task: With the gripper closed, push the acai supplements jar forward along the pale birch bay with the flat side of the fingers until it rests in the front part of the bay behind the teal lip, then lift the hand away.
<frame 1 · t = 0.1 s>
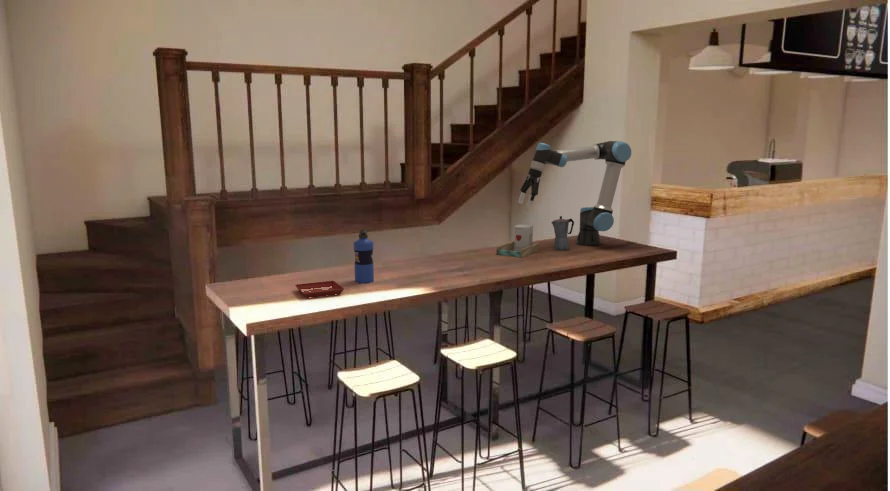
hand: (524, 204, 369), 28 cm above the table, tool tilted 20°, fingers open, 13 cm apart
bay: (518, 252, 372), on the table
water bottle: (364, 281, 305), on the table
plant saucer: (319, 294, 284), on the table
moka pot: (561, 249, 382), on the table
supplement box: (523, 250, 378), resting in bay
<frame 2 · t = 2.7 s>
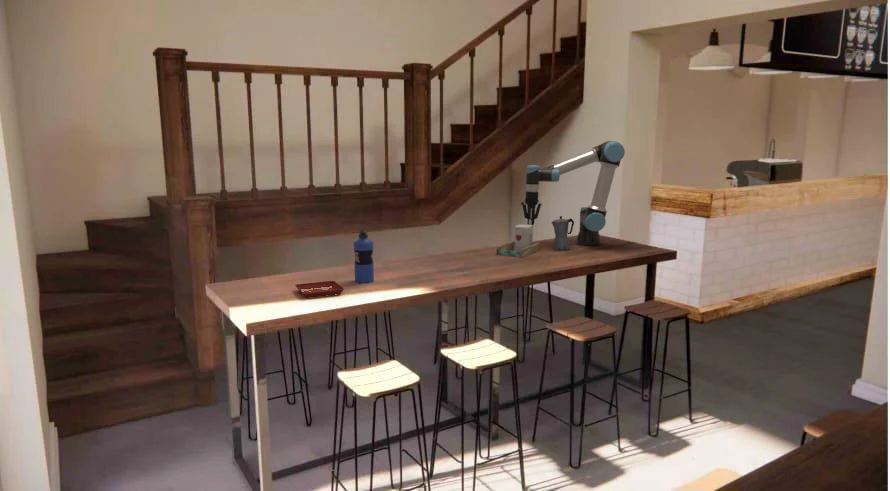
hand: (530, 230, 385), 11 cm above the table, tool pointing down, fingers closed
nothing on the table moved.
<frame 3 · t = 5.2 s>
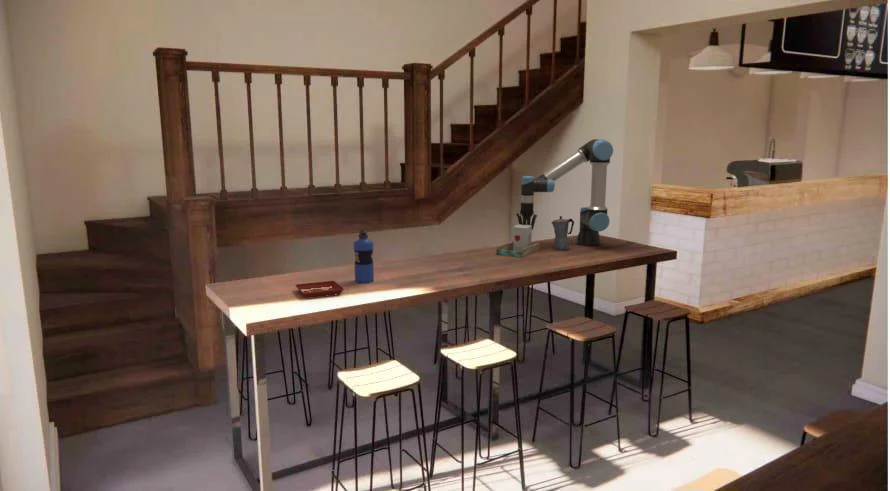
hand: (526, 241, 381), 5 cm above the table, tool pointing down, fingers closed
supplement box: (522, 251, 377), resting in bay, touching gripper
everything else where it was.
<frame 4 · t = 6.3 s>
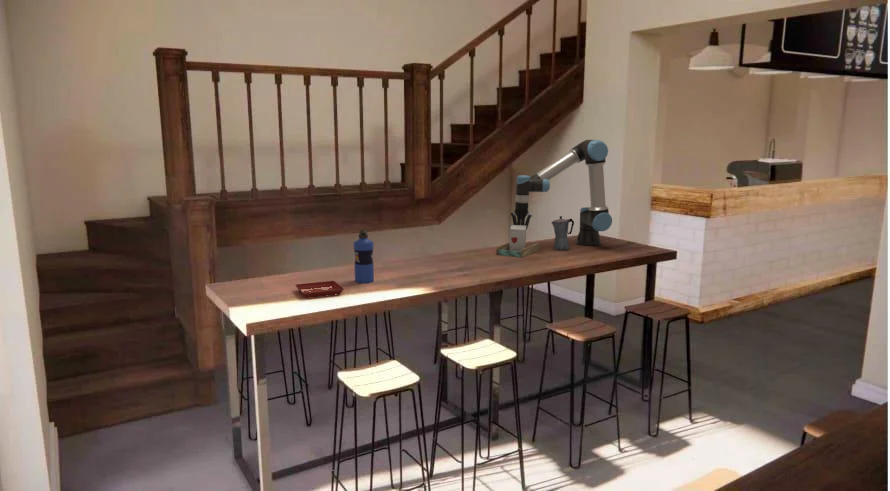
hand: (519, 241, 377), 6 cm above the table, tool pointing down, fingers closed
supplement box: (517, 251, 372), resting in bay, touching gripper, hand
everything else where it was.
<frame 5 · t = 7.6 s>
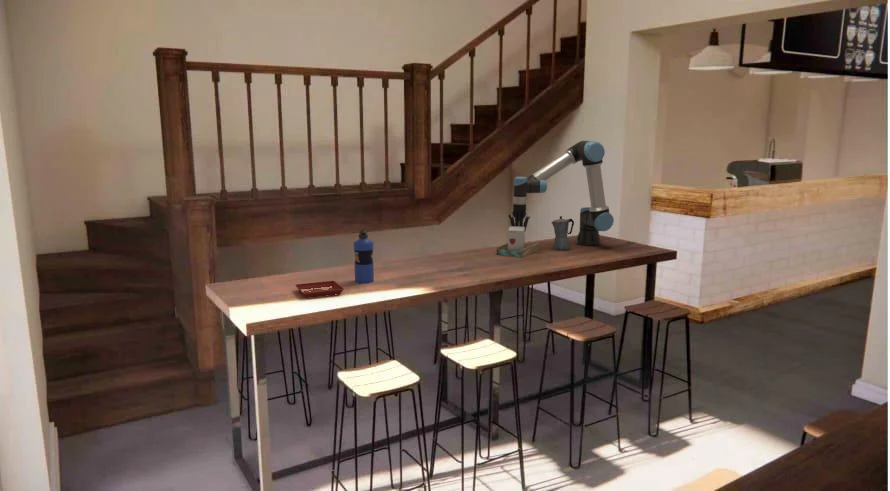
hand: (518, 243, 373), 5 cm above the table, tool pointing down, fingers closed
supplement box: (516, 253, 368), resting in bay, touching gripper, hand
everything else where it was.
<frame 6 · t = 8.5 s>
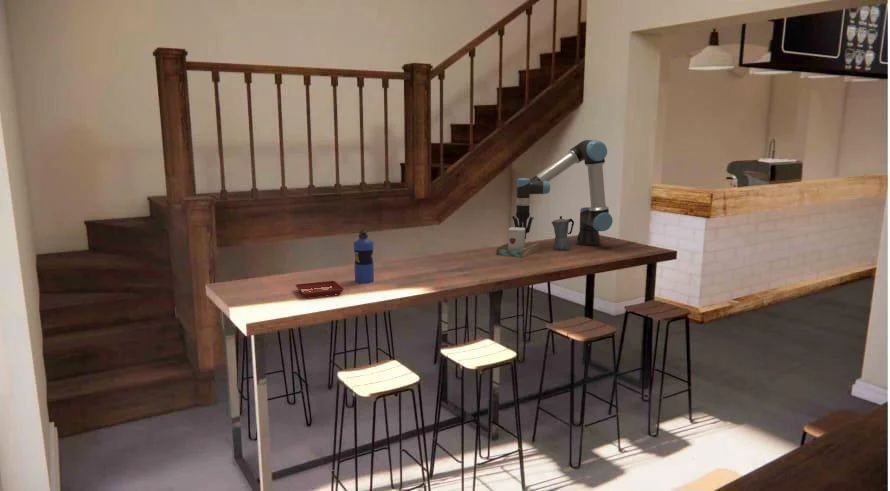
hand: (522, 244, 375), 4 cm above the table, tool pointing down, fingers closed
supplement box: (516, 254, 368), resting in bay
everything else where it was.
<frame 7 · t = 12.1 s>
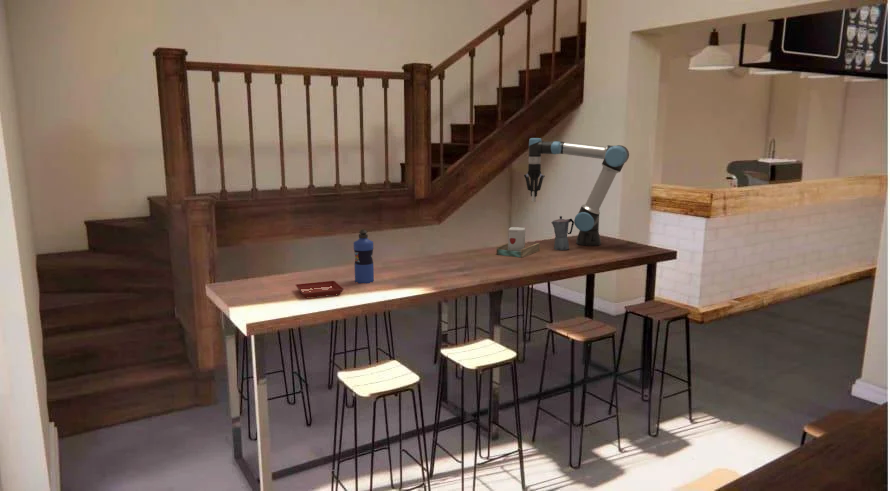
hand: (533, 201, 394), 26 cm above the table, tool pointing down, fingers closed
nothing on the table moved.
at the end: supplement box inside the target area (1.9 cm from its centre), resting in bay; supplement box tilted 0°; supplement box moved 11.0 cm from its start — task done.
